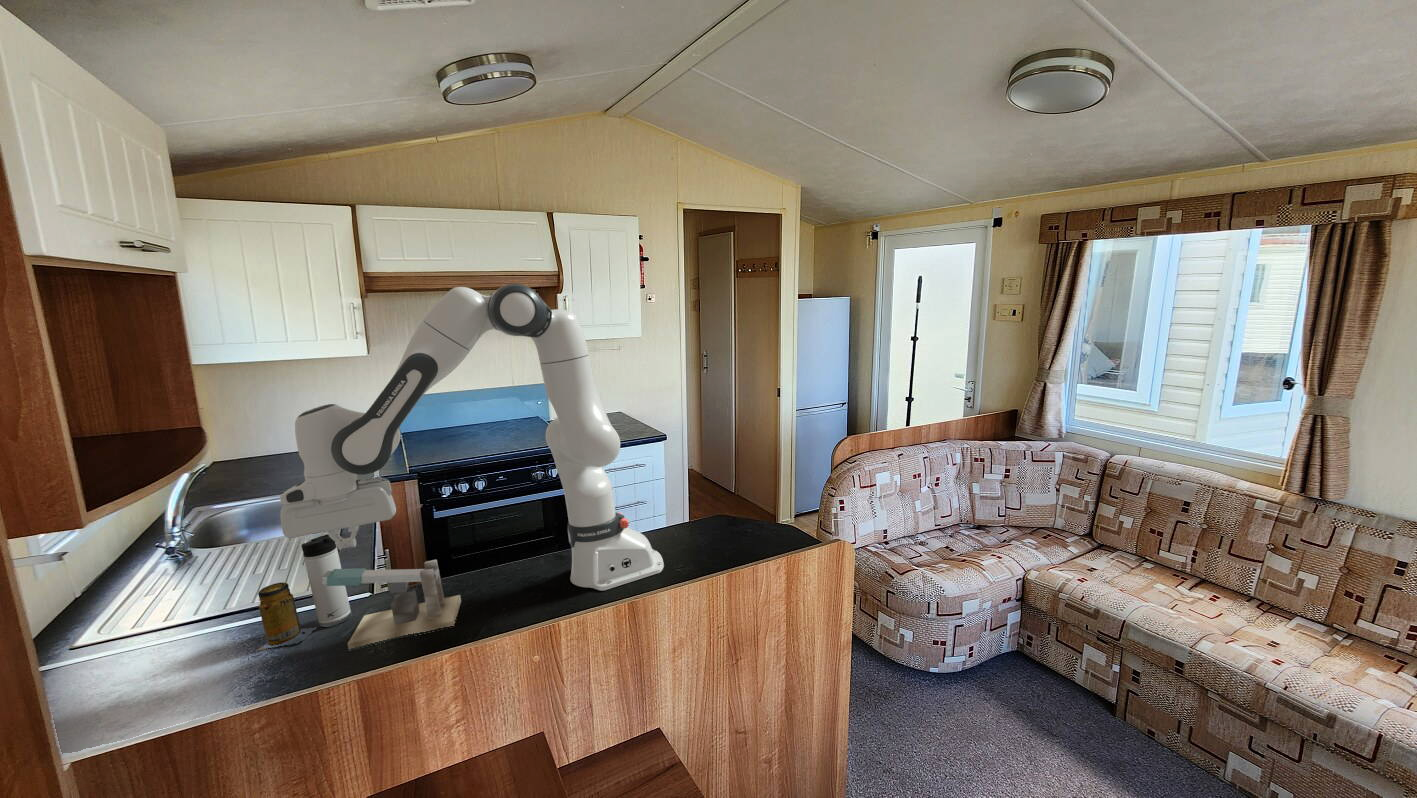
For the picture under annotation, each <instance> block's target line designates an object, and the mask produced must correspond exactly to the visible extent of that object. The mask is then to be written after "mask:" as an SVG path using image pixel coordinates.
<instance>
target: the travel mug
mask: <svg viewBox="0 0 1417 798" xmlns="http://www.w3.org/2000/svg"><path fill="white" fill-rule="evenodd" d="M301 550H302V552H303V561H304V563H305V568H306V569H305V570H306V573H307V577H308V583H309V585H310V586H309V587H310V591H311V595H312V599H313V603H314V608H315V612H316V617H317V621H318V625H319V624H320V625H328V624H332V623H336V622H338V621H341V620H342V619H344V618H345V617H347V616H348V615H349V614H350V613H351V614H352V610H351V605H350V602H349V596H348V593H347V587H346V586H327V584H322V583H323V576H324V575H325V573H326V572H327V571H333V570H334V569H342V565H341V560H340V555H339V551H338V550H339V549H338V545H337V543H336V542H335V541H334V540H333V539H331V538H330V537H329V535H328V534H324V535H320V536H318V537H314V538H312V539H310V540H309V541H307V542H305V543H302V544H301Z"/></svg>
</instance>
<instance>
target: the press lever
mask: <svg viewBox="0 0 1417 798" xmlns="http://www.w3.org/2000/svg"><path fill="white" fill-rule="evenodd" d="M423 570H428V569H425V568H410V569H409V568H406V569H397V568H396V569H367V568H366V567H365V568H363V567H362V568H341V569H334V570H333V571H327V572H326V573H325V575H324V576H323V583H322V584H327V586H345V587H346V586H360V585H361V584H381V583H382V584H385V583H389V594H402V593H407V591H408V588H409V583H422V582H421V577H420V572H421V571H423ZM433 571H434V577H435V581H437V579H438V576H439V574H440V569H433Z"/></svg>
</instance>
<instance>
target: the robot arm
mask: <svg viewBox="0 0 1417 798" xmlns="http://www.w3.org/2000/svg"><path fill="white" fill-rule="evenodd" d="M415 329H416V330H415V331H414V333H413V334H412V337H411V338H410V339H409V342H408V343H407V346H406V349H405V351H404V352H403V355H402V357H401V360H400V362H399V364H398V366H397V368H396V370H395V373H394V374H393V375H392V377H391V379H390V380H389V382H388V383H387V385H386V386H385V387H384V389H382V391H381V392H380V394H379V395H378V397H377V398H376V399H375V400H374V401H373V403H372V404H371V405H370V407H369V408H368V409H367V410H366V412H360V411H355V410H351V409H348V408H344V407H342V406H340V405H338V404H336V403H329V404H324V405H321V406H318V407H315V408H311V409H309V410H306V411H304V412H302V413H301V414H299V415H297V418H296V419H295V422H294V433H295V440H296V445H297V446H296V447H297V451H298V455H299V457H300V459H301V460H302V462H303V466H304V469H303V476H304V480H305V481H302V482H300V483H297V484H296V485H294V486H292V487H290V488H288V489H287V490H286V491H284V492H283V493H282V494H280V496H279V500H280V503H281V504H282V505H283V506H282V507H281V509H280V525H281V526H280V527H281V530H282V534H283V536H284V537H286V538H288V539H293V538H295V539H296V538H300V537H305V536H306V537H307V536H310V535H317V534H321V533H327V535H329V537H330V538H331V539H333V540H334V541H335V544H336V546H337V550H339V551H341V550H346V549H351V548H355V547H356V546H357V540H356V536H357V533H358V531H359V529H360V526H363V525H368V524H375V523H380V522H384V521H389V520H391V519H393V517H394V516H395V514H396V513H397V507H396V504H395V501H394V498H393V495H392V493H393V488H392V484H391V481H390V480H389V479H387V478H385V477H382V476H376V477H371V478H363V479H359V478H358V475H361V476H362V475H369V474H373V473H376V472H378V471H379V470H381V469H382V468H383V467H384V466H386V465H387V463H388V461H389V459H390V457H391V455H393V453H394V452H395V451H396V450H397V448H398V446H399V444H400V442H401V439H402V433H401V432H402V431H401V429H400V426H401V425H402V424H403V423H404V422H405V420H406V418H407V417H408V416H409V414H410V413H411V412H412V410H413V409H414V408H415V406H416V404H417V403H418V402H419V401H420V399H421V398H422V397H423V396H424V395H425V394H426V393H427V392H428V391H429V390H430V389H432V387H434V386H435V385H436V384H438V383H439V382H441V381H442V380H443V379H445V378H446V377H447V376H449V375H450V374H451V373H452V372H453V371H454V370H456V368H457V367H458V366H459V365H460V364H461V363H462V362H463V361H464V360H465V359H466V357H467V356H468V355H469V353H470V352H471V351H472V350H473V348H474V347H475V345H476V344H477V343H478V341H479V339H480V338H481V337H482V336H483V335H484V334H485V333H487V332H489V331H490V330H496V331H499V332H501V333H503V334H505V335H508V336H512V337H527V338H531V340H532V341H533V342H534V344H535V348H536V350H537V355H538V360H539V361H538V362H539V365H540V369H541V370H540V371H541V374H542V378H543V384H544V388H545V393H546V397H547V399H548V401H549V402H550V403H551V405H552V408H553V409H554V412H555V413H556V417H555V418H554V419H553V420H551V421H550V422H549V423H548V426H547V428H546V431H545V435H544V436H545V441H546V442H545V443H546V444H547V446H548V447H549V449H550V451H551V455H552V458H553V460H554V464H555V467H556V471H557V473H558V476H559V478H560V482H561V486H562V488H563V494H564V498H565V505H566V511H567V517H568V522H567V529H566V530H567V535H568V542H569V544H570V547H571V571H570V572H571V573H570V577H569V579H570V582H571V583H572V584H573V585H575V586H577V587H581V588H591V589H594V590H597V591H601V592H602V591H607V590H610V589H613V588H616V587H619V586H622V585H626V584H629V583H631V582H635V581H638V580H641V579H645V578H647V577H650V576H654V575H656V574H657V575H658V574H660V573H661V572H662V571H663V570H664V567H665V564H664V560H663V557H662V554H660V552H658V551H657V550H655V549H653V548H652V545H651V543H650V541H649V539H648V538H647V537H646V535H644V534H643V533H641V532H638V531H636V530H634V529H632V528H630V527H629V526H630V525H629V524H630V522H629V521H628V519H627V518H625V516H624V515H623V514H622V512H621V511H619V512H616V508H615V507H616V506H615V501H614V493H613V485H612V482H611V480H610V478H609V477H608V475H607V473H606V471H605V469H604V467H606V466H608V465H610V464H612V463H613V462H614V461H615V460H616V459H617V457H618V455H619V454H620V450H621V438H620V436H619V434H618V432H617V431H616V429H615V427H614V426H613V425H612V423H611V421H610V419H609V417H608V414H607V411H606V410H605V407H604V405H603V403H602V401H601V398H600V396H599V395H600V394H599V392H598V389H597V386H596V381H595V377H594V373H593V368H592V363H591V357H590V353H589V348H588V344H587V341H586V338H585V334H584V331H583V328H582V326H581V323H580V321H579V318H578V317H577V315H576V314H575V313H573V312H572V311H570V310H567V309H562V308H559V309H558V308H557V309H551V308H550V306H548V305H547V303H546V302H545V301H544V300H543V298H542V297H541V295H539V294H538V293H537V292H536V291H535V290H534V289H532V288H531V287H530V286H527V285H525V284H523V283H510V284H506V285H503V286H501V287H499V288H498V289H496V290H495V291H494V292H493V293H490V294H488V295H484V294H481V292H478V291H476V290H474V289H472V288H470V287H466V286H456V287H453V288H451V289H450V290H449V291H448V292H447V293H445V294H444V295H443V296H442V297H441V298H440V300H438V301H437V302H436V303H435V304H434V305H433V307H432V308H430V310H429V311H428V312H427V313H426V315H425V316H424V318H423V319H422V320H421V321H420V323H419V324H418V326H417V328H415ZM341 529H342V530H343V529H347V531H348V533H351V534H350V536H349V537H347V538H343V537H342V536H341V535H340V534H339V532H340V530H341Z"/></svg>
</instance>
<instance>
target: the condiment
mask: <svg viewBox="0 0 1417 798" xmlns="http://www.w3.org/2000/svg"><path fill="white" fill-rule="evenodd" d="M257 594H258V598H259V599H258V600H259V604H258V609H259V613H260V618H261V622H262V626H263V631H264V633H265V638H266V642H268V645H271V646H273V645H279V644H282V643H284V642H287V641H289V640H291V639H293V638H295V637H296V636H297V635H298V634H299V633H300V631H301V629H302V627H301V624H300V621H299V620H300V618H299V616H298V612H297V606H296V603H295V599H294V595H293V594H292V593H291V590H290V588H289V584H288V583H287V582H285V581H284V582H283V581H282V582H276V583H272V584H270V585H267V586H265V587H262V588H261V589H260V590H259V591H258V593H257ZM261 650H263V651H264V650H269V649H268V648H267V649H266V648H264V646H263V645H261V647H259V648H258V649H257V651H261Z"/></svg>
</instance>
